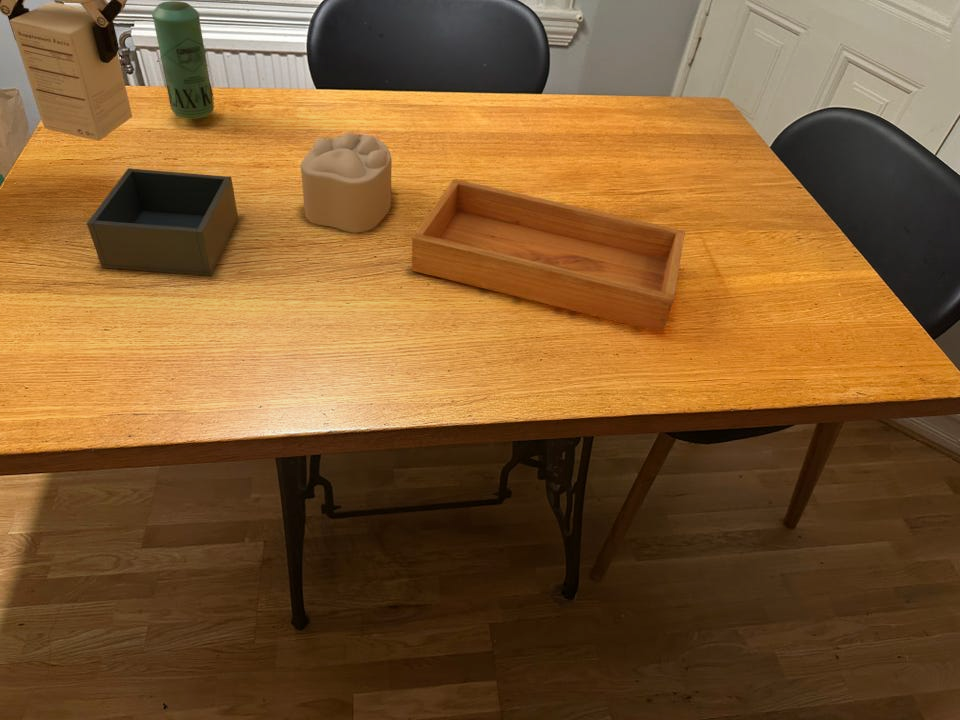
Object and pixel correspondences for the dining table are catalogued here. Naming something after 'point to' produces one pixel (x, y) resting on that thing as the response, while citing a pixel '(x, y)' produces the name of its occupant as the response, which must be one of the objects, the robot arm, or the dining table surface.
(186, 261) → the dark grey storage bin
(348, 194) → the lumpy-topped squat cylinder
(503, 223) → the tray
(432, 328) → the dining table surface
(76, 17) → the white packaging box
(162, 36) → the beverage bottle
